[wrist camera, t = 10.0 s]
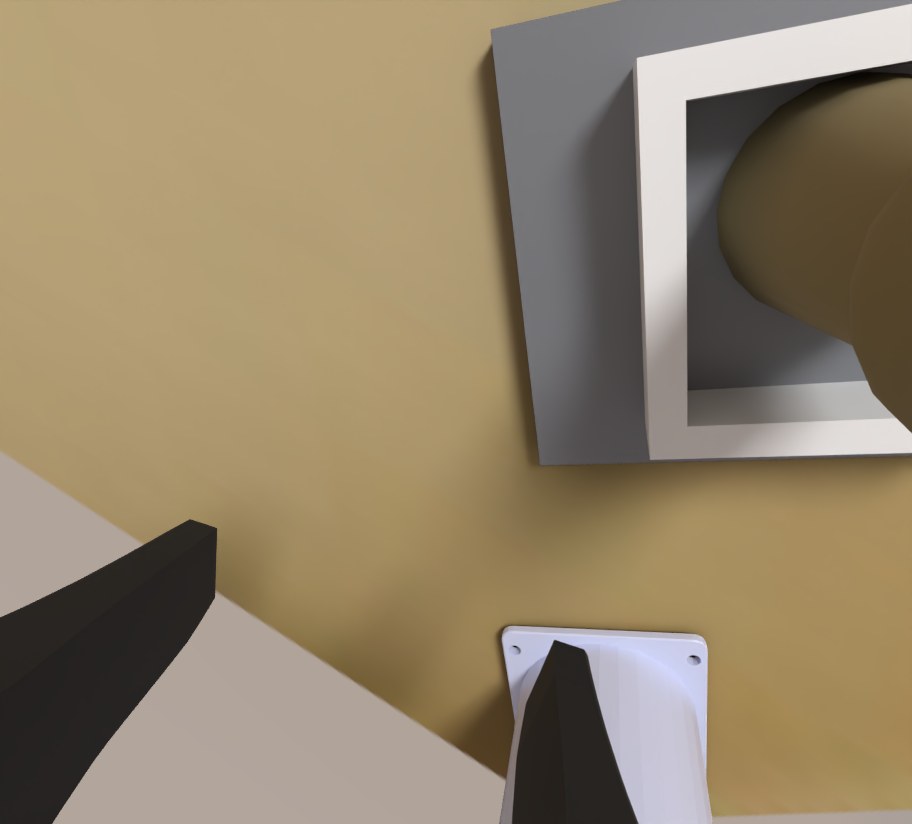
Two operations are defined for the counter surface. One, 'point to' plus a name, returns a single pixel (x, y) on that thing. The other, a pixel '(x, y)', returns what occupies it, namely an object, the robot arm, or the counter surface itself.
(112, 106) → the counter surface
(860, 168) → the cork
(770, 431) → the socket dock
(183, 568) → the robot arm
